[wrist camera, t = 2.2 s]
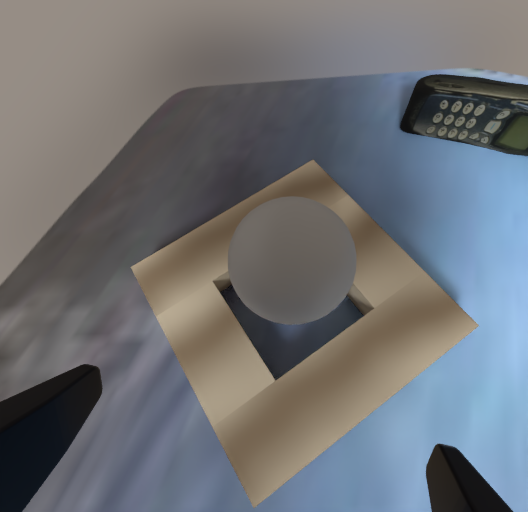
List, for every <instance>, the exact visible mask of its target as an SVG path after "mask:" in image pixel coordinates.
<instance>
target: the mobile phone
mask: <svg viewBox="0 0 528 512" xmlns="http://www.w3.org/2000/svg"><path fill="white" fill-rule="evenodd" d="M400 128H401V130H402V131H405V132H407V133H412V134H417V135H423V136H428V137H434V138H440V139H445V140H451V141H456V142H462V143H467V144H471V145H475V146H480V147H484V148H488V149H492V150H496V151H500V152H503V153H507V154H514V155H524V156H528V85H523V84H515V83H507V82H501V81H495V80H490V79H485V78H478V77H465V76H456V75H443V74H439V75H430V76H426V77H423V78H421V79H420V80H419V81H418V82H417V83H416V86H415V88H414V90H413V93H412V95H411V98H410V100H409V103H408V106H407V108H406V111H405V113H404V116H403V119H402V121H401V125H400Z"/></svg>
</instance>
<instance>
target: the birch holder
mask: <svg viewBox="0 0 528 512" xmlns="http://www.w3.org/2000/svg"><path fill="white" fill-rule="evenodd" d="M289 196H295V197H304V198H308V199H312V200H314V201H317V202H319V203H321V204H323V205H325V206H326V207H328V208H329V209H331V210H332V211H334V212H335V213H336V214H337V215H338V216H339V217H340V218H341V219H342V220H343V222H344V223H345V225H346V226H347V227H348V229H349V232H350V234H351V236H352V239H353V241H354V244H355V250H356V273H355V277H354V281H353V284H352V286H351V288H350V290H349V292H348V294H347V296H348V297H349V299H350V300H351V301H352V302H353V303H354V305H355V306H356V307H357V308H358V309H359V311H360V312H361V313H362V314H363V315H364V316H363V317H362V318H361V319H359V320H358V321H356V322H355V323H354V324H352V325H351V326H350V327H348V328H347V329H345V330H344V331H343V332H341V333H340V334H339V335H337V336H336V337H335V338H333V339H332V340H330V341H329V342H328V343H326V344H325V345H324V346H322V347H321V348H320V349H318V350H317V351H315V352H314V353H313V354H311V355H310V356H309V357H307V358H306V359H305V360H303V361H302V362H300V363H299V364H298V365H296V366H295V367H294V368H292V369H291V370H290V371H288V372H287V373H285V374H284V375H283V376H281V377H280V378H279V379H277V380H275V378H274V377H273V375H272V374H271V372H270V371H269V369H268V367H267V366H266V364H265V363H264V361H263V360H262V358H261V356H260V355H259V353H258V352H257V350H256V348H255V347H254V345H253V344H252V342H251V341H250V339H249V337H248V336H247V334H246V333H245V331H244V330H243V328H242V326H241V325H240V323H239V322H238V320H237V318H236V317H235V315H234V314H233V312H232V311H231V309H230V307H229V306H228V304H227V303H226V301H225V300H224V298H223V296H222V295H221V293H220V292H221V291H223V290H224V289H226V288H227V287H229V286H230V285H232V283H231V281H230V276H229V272H228V250H229V245H230V241H231V239H232V237H233V234H234V232H235V230H236V228H237V226H238V225H239V223H240V222H241V220H242V219H243V218H244V217H245V216H246V215H247V214H248V213H249V212H250V211H252V210H253V209H255V208H256V207H258V206H259V205H261V204H263V203H265V202H267V201H270V200H272V199H276V198H280V197H289ZM131 268H132V270H133V272H134V274H135V276H136V278H137V280H138V282H139V284H140V286H141V288H142V290H143V292H144V294H145V296H146V298H147V300H148V302H149V304H150V306H151V308H152V310H153V312H154V314H155V316H156V317H157V319H158V321H159V323H160V325H161V327H162V329H163V331H164V333H165V335H166V337H167V339H168V341H169V343H170V345H171V347H172V349H173V351H174V353H175V355H176V357H177V359H178V361H179V363H180V365H181V366H182V368H183V370H184V372H185V374H186V376H187V378H188V380H189V382H190V384H191V386H192V388H193V390H194V392H195V394H196V396H197V398H198V400H199V402H200V404H201V406H202V408H203V410H204V412H205V414H206V415H207V417H208V419H209V421H210V423H211V425H212V427H213V429H214V431H215V433H216V435H217V437H218V439H219V441H220V443H221V445H222V447H223V449H224V451H225V453H226V455H227V457H228V459H229V461H230V462H231V464H232V466H233V468H234V470H235V472H236V474H237V476H238V478H239V480H240V482H241V484H242V486H243V488H244V490H245V492H246V494H247V496H248V498H249V500H250V502H251V504H252V506H253V508H255V507H256V506H257V505H258V504H260V503H261V502H262V501H263V500H265V499H266V498H267V497H268V496H270V495H271V494H272V493H273V492H274V491H276V490H277V489H278V488H279V487H281V486H282V485H283V484H284V483H286V482H287V481H288V480H289V479H290V478H292V477H293V476H294V475H295V474H297V473H298V472H299V471H300V470H302V469H303V468H304V467H305V466H307V465H308V464H309V463H310V462H311V461H313V460H314V459H315V458H316V457H318V456H319V455H320V454H321V453H323V452H324V451H325V450H326V449H328V448H329V447H330V446H331V445H332V444H334V443H335V442H336V441H337V440H339V439H340V438H341V437H342V436H344V435H345V434H346V433H347V432H349V431H350V430H351V429H352V428H353V427H355V426H356V425H357V424H358V423H360V422H361V421H362V420H363V419H365V418H366V417H367V416H368V415H369V414H371V413H372V412H373V411H374V410H376V409H377V408H378V407H379V406H381V405H382V404H383V403H384V402H386V401H387V400H388V399H389V398H390V397H392V396H393V395H394V394H395V393H397V392H398V391H399V390H400V389H402V388H403V387H404V386H405V385H407V384H408V383H409V382H410V381H411V380H413V379H414V378H415V377H416V376H418V375H419V374H420V373H421V372H423V371H424V370H425V369H426V368H428V367H429V366H430V365H431V364H432V363H434V362H435V361H436V360H437V359H439V358H440V357H441V356H442V355H444V354H445V353H446V352H447V351H448V350H450V349H451V348H452V347H453V346H455V345H456V344H457V343H458V342H460V341H461V340H462V339H463V338H465V337H466V336H467V335H468V334H469V333H471V332H472V331H473V330H474V329H476V328H477V327H478V326H479V325H478V324H477V323H476V322H475V321H474V320H473V319H472V318H471V317H470V316H469V315H468V314H467V313H466V312H465V311H464V310H463V309H462V308H461V307H460V306H459V305H458V304H457V303H456V302H455V301H454V300H453V299H452V298H451V297H450V296H449V295H448V294H447V293H446V292H445V291H444V290H443V289H442V288H441V287H440V286H439V285H438V284H437V283H436V282H435V281H434V280H433V279H432V278H431V277H430V276H429V275H428V274H427V273H426V272H425V271H424V270H423V269H422V268H421V267H420V266H419V265H418V264H417V263H416V262H415V261H414V260H413V259H412V258H411V257H410V256H409V255H408V254H407V253H406V252H405V251H404V250H403V249H402V248H401V247H400V246H399V245H398V244H397V243H396V242H395V241H394V240H393V239H392V238H391V237H390V236H389V235H388V234H387V233H386V232H385V231H384V230H383V229H382V228H381V227H380V226H379V225H378V224H377V223H376V222H375V221H374V220H373V219H372V218H371V217H370V216H369V215H368V214H367V213H366V212H365V211H364V210H363V209H362V208H361V207H360V206H359V205H358V204H357V203H356V202H355V201H354V200H353V199H352V198H351V197H350V196H349V195H348V194H347V193H346V192H345V191H344V190H343V189H342V188H341V187H340V186H339V185H338V184H337V183H336V182H335V181H334V180H333V179H332V178H331V177H330V176H329V175H328V174H327V173H326V172H325V171H324V170H323V169H322V168H321V167H320V166H319V165H318V164H317V163H316V162H315V161H314V160H311V161H310V162H308V163H306V164H305V165H303V166H301V167H299V168H298V169H296V170H294V171H293V172H291V173H289V174H288V175H286V176H284V177H283V178H281V179H279V180H277V181H276V182H274V183H272V184H271V185H269V186H267V187H266V188H264V189H262V190H261V191H259V192H257V193H256V194H254V195H252V196H250V197H249V198H247V199H245V200H244V201H242V202H240V203H239V204H237V205H235V206H234V207H232V208H230V209H228V210H227V211H225V212H223V213H222V214H220V215H218V216H217V217H215V218H213V219H212V220H210V221H208V222H206V223H205V224H203V225H201V226H200V227H198V228H196V229H195V230H193V231H191V232H190V233H188V234H186V235H184V236H183V237H181V238H179V239H178V240H176V241H174V242H173V243H171V244H169V245H168V246H166V247H164V248H163V249H161V250H159V251H157V252H156V253H154V254H152V255H151V256H149V257H147V258H146V259H144V260H142V261H141V262H139V263H137V264H135V265H134V266H132V267H131Z"/></svg>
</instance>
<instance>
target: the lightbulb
mask: <svg viewBox="0 0 528 512" xmlns="http://www.w3.org/2000/svg"><path fill="white" fill-rule="evenodd" d="M228 272H229V276H230V281H231V283H232V285H233V287H234V289H235V291H236V293H237V295H238V296H239V298H240V299H241V300H242V302H243V303H244V304H245V305H246V306H247V307H248V308H249V309H250V310H251V311H252V312H254V313H255V314H257V315H259V316H261V317H262V318H264V319H267V320H269V321H272V322H275V323H280V324H288V325H294V324H305V323H309V322H312V321H316V320H318V319H320V318H322V317H324V316H326V315H328V314H329V313H330V312H332V311H333V310H334V309H335V308H337V307H338V306H339V304H340V303H341V302H342V301H343V300H344V298H345V297H346V295H347V294H348V292H349V290H350V288H351V286H352V284H353V281H354V277H355V273H356V250H355V244H354V241H353V239H352V236H351V234H350V232H349V229H348V227H347V226H346V225H345V223H344V222H343V220H342V219H341V218H340V217H339V216H338V215H337V214H336V213H335V212H334V211H332V210H331V209H329V208H328V207H326V206H325V205H323V204H321V203H319V202H317V201H314V200H312V199H308V198H304V197H295V196H289V197H280V198H276V199H272V200H270V201H267V202H265V203H263V204H261V205H259V206H258V207H256V208H255V209H253V210H252V211H250V212H249V213H248V214H247V215H246V216H245V217H244V218H243V219H242V220H241V222H240V223H239V225H238V226H237V228H236V230H235V232H234V234H233V237H232V239H231V241H230V245H229V250H228Z"/></svg>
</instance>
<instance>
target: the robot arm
mask: <svg viewBox="0 0 528 512" xmlns="http://www.w3.org/2000/svg"><path fill="white" fill-rule="evenodd" d="M101 394H102V381H101V374H100V369H99V368H98V367H97V366H93V365H88V364H83V365H80V366H78V367H76V368H74V369H72V370H69V371H67V372H65V373H63V374H61V375H58V376H56V377H54V378H52V379H50V380H47V381H45V382H43V383H41V384H39V385H36V386H34V387H32V388H30V389H28V390H25V391H23V392H21V393H19V394H17V395H14V396H12V397H10V398H8V399H6V400H3V401H1V402H0V512H22V511H23V510H24V508H25V507H26V506H27V504H28V503H29V502H30V500H31V499H32V498H33V496H34V495H35V494H36V492H37V491H38V489H39V488H40V487H41V485H42V484H43V483H44V481H45V480H46V479H47V477H48V476H49V475H50V473H51V472H52V471H53V469H54V468H55V466H56V465H57V464H58V462H59V461H60V460H61V458H62V457H63V455H64V454H65V453H66V451H67V450H68V448H69V447H70V445H71V444H72V442H73V440H74V439H75V437H76V435H77V434H78V432H79V431H80V429H81V427H82V426H83V424H84V423H85V421H86V419H87V418H88V416H89V414H90V413H91V411H92V410H93V408H94V406H95V405H96V403H97V401H98V400H99V398H100V396H101ZM426 478H427V484H428V490H429V497H430V503H431V509H432V512H513V511H512V510H511V508H510V507H509V506H508V505H507V504H506V503H505V502H504V501H503V499H502V498H501V497H500V496H499V495H498V494H497V493H496V492H495V490H494V489H493V488H492V487H491V486H490V485H489V484H488V483H487V481H486V480H485V479H484V478H483V477H482V476H481V475H480V473H479V472H478V471H477V470H476V469H475V468H474V467H473V466H472V464H471V463H470V462H469V461H468V460H467V459H466V458H465V457H464V455H463V454H462V453H461V452H460V451H459V450H458V449H457V448H455V447H453V446H448V445H444V444H437V445H435V447H434V449H433V452H432V454H431V456H430V459H429V461H428V464H427V467H426Z"/></svg>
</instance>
